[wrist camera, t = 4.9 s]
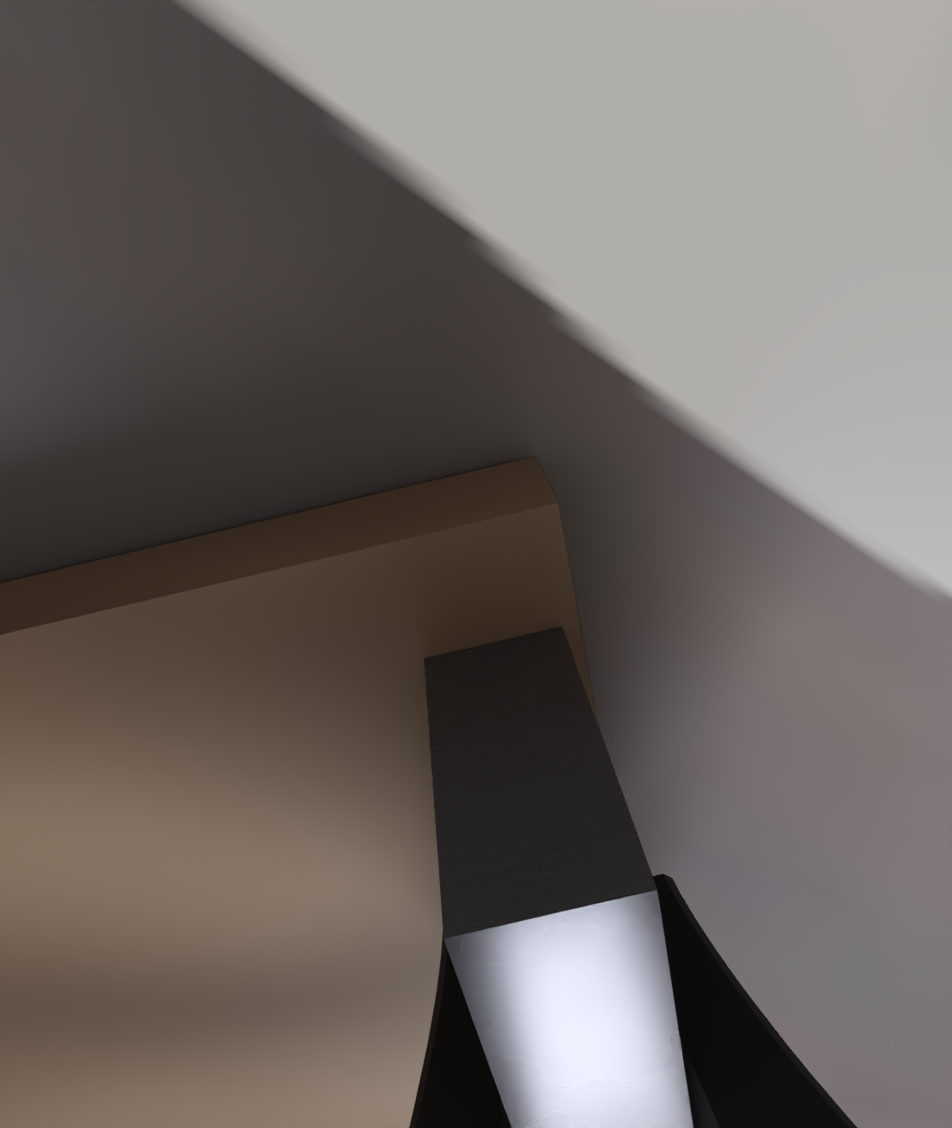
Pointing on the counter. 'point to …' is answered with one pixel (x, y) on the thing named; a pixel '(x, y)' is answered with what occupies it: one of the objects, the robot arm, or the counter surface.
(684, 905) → the robot arm
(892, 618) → the counter surface
